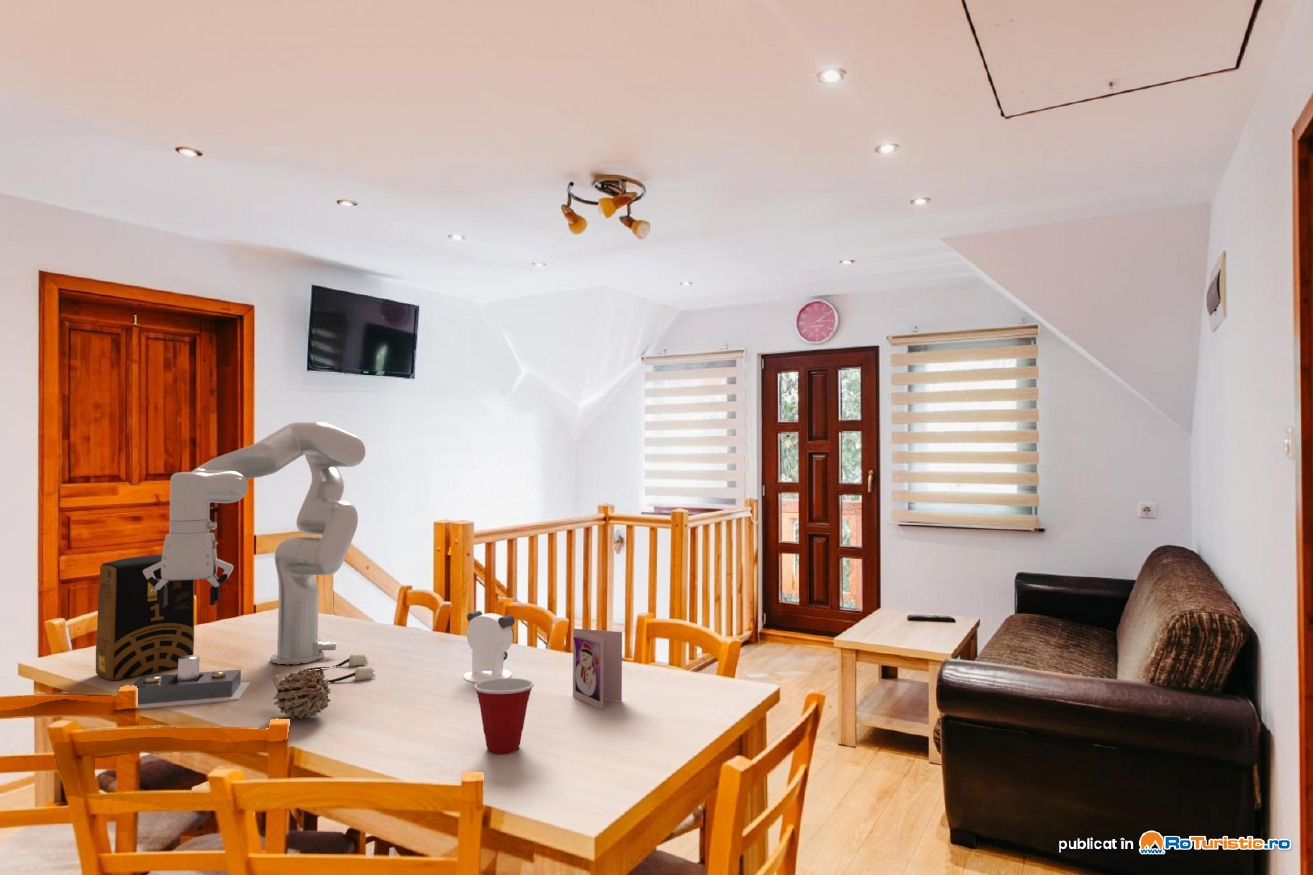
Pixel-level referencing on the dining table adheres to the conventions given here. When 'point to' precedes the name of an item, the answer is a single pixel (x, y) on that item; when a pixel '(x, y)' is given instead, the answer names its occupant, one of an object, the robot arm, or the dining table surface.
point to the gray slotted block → (187, 687)
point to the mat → (235, 696)
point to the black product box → (141, 621)
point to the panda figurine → (489, 645)
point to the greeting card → (597, 666)
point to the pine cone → (302, 693)
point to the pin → (188, 668)
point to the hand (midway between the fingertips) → (188, 605)
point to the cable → (353, 660)
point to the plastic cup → (503, 712)
